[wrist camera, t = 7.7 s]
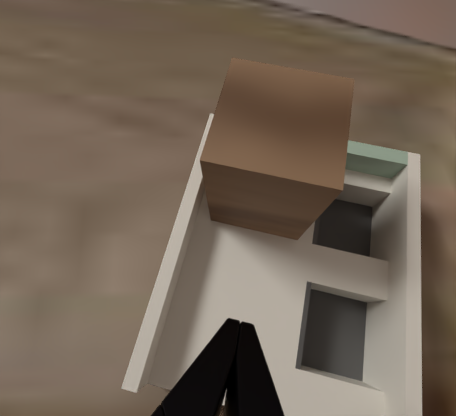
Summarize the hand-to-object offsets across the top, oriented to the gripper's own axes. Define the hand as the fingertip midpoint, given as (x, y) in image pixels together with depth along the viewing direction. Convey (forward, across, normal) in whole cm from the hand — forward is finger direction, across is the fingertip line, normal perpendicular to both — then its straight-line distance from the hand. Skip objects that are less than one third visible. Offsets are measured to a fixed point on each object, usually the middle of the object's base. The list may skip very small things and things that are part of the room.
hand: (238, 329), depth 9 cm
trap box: (+11, -2, +5) cm, 13 cm away
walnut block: (+12, 0, 0) cm, 13 cm away
